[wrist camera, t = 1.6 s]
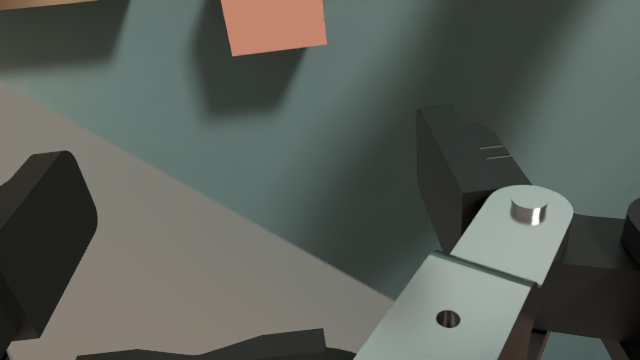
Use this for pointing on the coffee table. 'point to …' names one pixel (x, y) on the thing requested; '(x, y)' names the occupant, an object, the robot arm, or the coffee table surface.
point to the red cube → (273, 25)
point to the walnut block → (33, 3)
